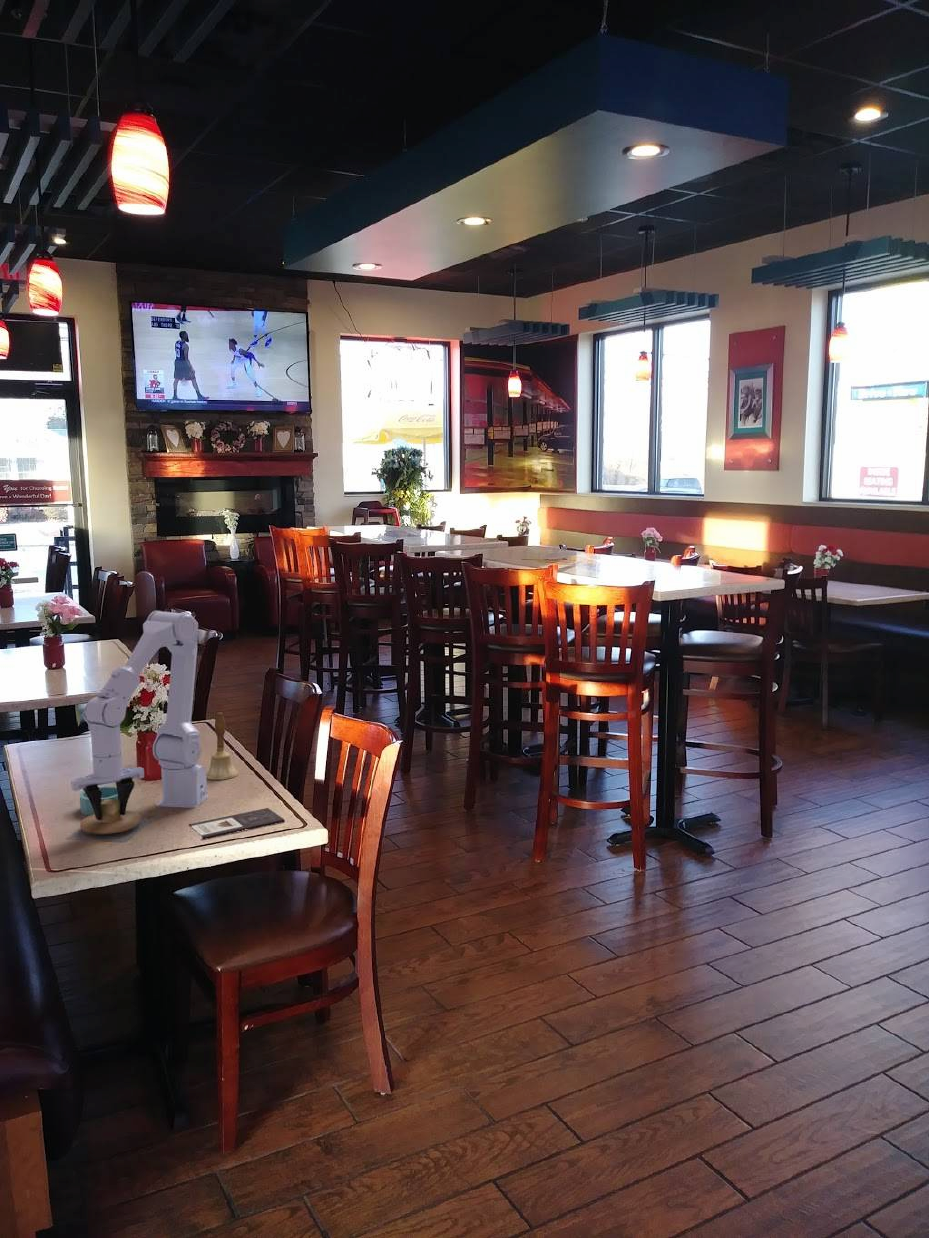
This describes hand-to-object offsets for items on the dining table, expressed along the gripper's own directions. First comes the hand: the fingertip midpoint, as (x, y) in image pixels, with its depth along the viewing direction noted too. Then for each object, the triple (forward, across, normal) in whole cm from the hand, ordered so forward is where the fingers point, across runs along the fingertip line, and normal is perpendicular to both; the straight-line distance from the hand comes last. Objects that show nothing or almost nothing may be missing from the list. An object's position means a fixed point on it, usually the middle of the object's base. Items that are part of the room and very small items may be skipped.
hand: (110, 816), depth 206 cm
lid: (+2, 0, 0) cm, 2 cm away
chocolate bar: (+4, -23, +13) cm, 26 cm away
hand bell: (+3, -35, -22) cm, 41 cm away
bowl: (+3, -3, -14) cm, 15 cm away
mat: (+3, 0, 0) cm, 3 cm away
